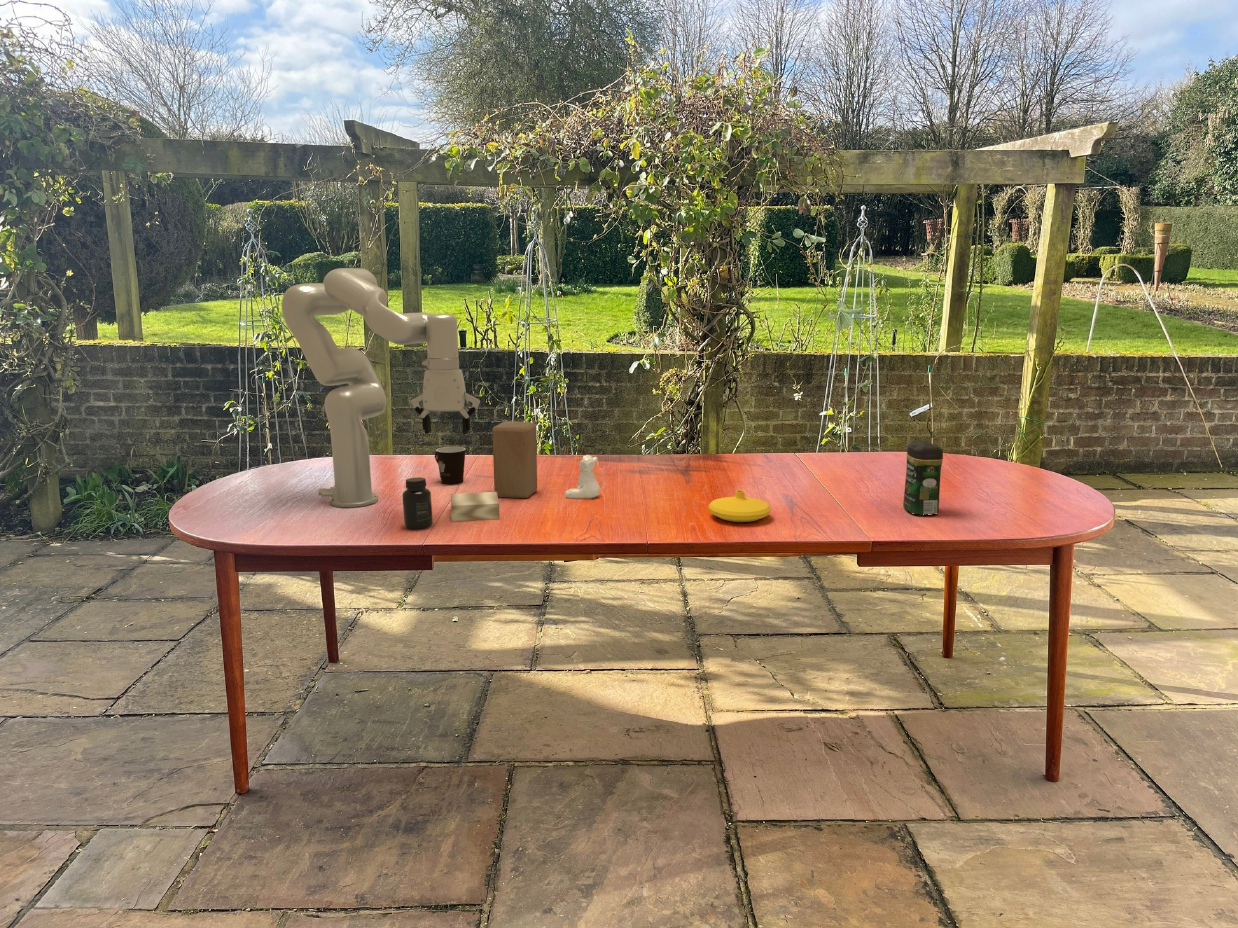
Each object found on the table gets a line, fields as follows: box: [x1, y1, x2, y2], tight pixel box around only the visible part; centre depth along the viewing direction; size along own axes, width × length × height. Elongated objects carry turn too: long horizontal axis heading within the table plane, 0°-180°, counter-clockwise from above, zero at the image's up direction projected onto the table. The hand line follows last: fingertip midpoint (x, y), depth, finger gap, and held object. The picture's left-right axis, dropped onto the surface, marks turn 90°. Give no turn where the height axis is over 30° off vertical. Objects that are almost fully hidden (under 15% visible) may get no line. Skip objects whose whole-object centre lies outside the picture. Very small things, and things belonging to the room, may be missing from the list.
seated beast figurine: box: [565, 454, 601, 500], centre depth 238 cm, size 10×9×12 cm
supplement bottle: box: [402, 476, 433, 531], centre depth 210 cm, size 7×7×12 cm
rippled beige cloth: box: [450, 491, 501, 522], centre depth 222 cm, size 12×12×4 cm
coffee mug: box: [434, 446, 467, 486], centre depth 256 cm, size 12×9×10 cm
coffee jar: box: [902, 440, 944, 516], centre depth 221 cm, size 10×8×19 cm
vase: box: [708, 490, 772, 523], centre depth 218 cm, size 16×16×7 cm
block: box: [492, 420, 538, 499], centre depth 240 cm, size 10×10×20 cm
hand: (446, 433), depth 215 cm, fingers open, 9 cm apart
